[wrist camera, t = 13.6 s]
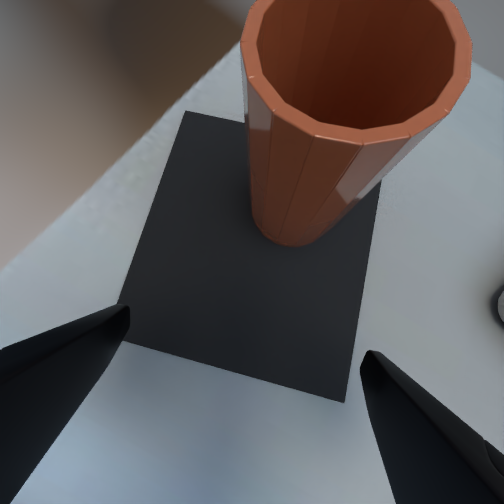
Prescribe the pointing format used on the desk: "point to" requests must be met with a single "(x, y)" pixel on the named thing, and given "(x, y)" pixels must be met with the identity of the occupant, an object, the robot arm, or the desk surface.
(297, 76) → the tumbler
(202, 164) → the mat
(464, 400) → the desk surface
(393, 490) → the robot arm
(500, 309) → the handheld gaming device
